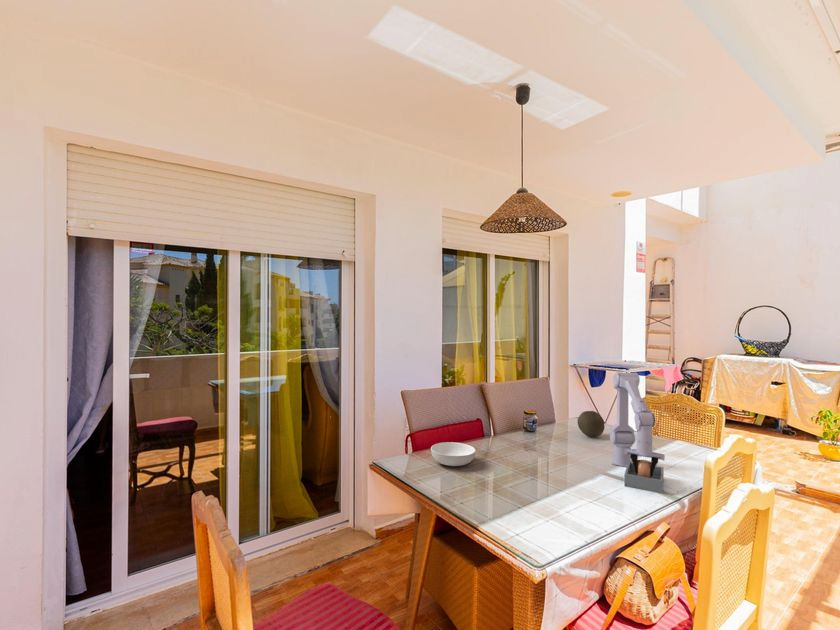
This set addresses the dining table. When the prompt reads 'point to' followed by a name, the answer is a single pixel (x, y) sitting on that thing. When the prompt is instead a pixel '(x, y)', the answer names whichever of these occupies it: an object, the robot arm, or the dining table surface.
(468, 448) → the serving bowl
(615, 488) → the dining table surface
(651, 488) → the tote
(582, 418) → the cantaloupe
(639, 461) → the terracotta cylinder
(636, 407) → the robot arm
